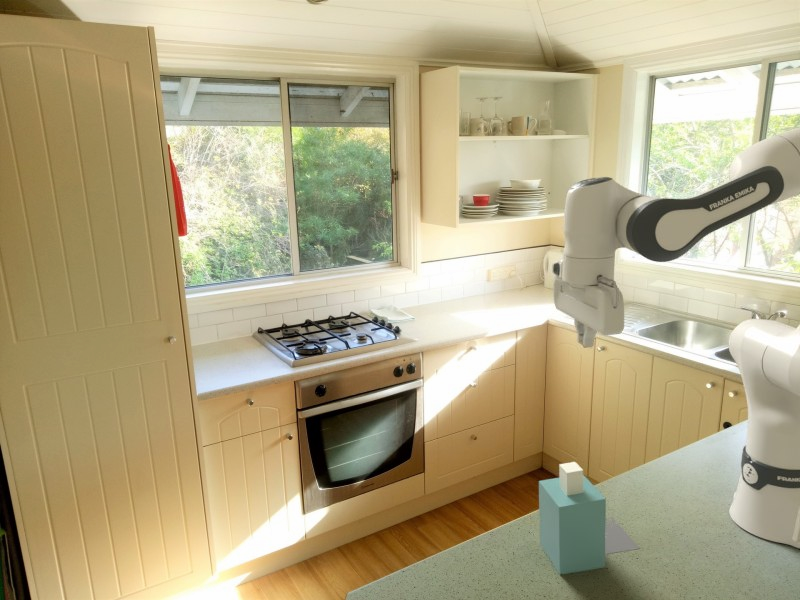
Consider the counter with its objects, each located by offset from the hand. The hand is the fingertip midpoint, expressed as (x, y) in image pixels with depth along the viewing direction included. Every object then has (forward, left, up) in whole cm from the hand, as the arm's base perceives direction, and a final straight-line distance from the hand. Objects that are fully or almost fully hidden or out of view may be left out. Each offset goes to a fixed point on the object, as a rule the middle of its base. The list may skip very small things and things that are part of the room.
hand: (585, 344), depth 109 cm
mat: (-2, +5, -37) cm, 37 cm away
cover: (+6, +9, -37) cm, 39 cm away
